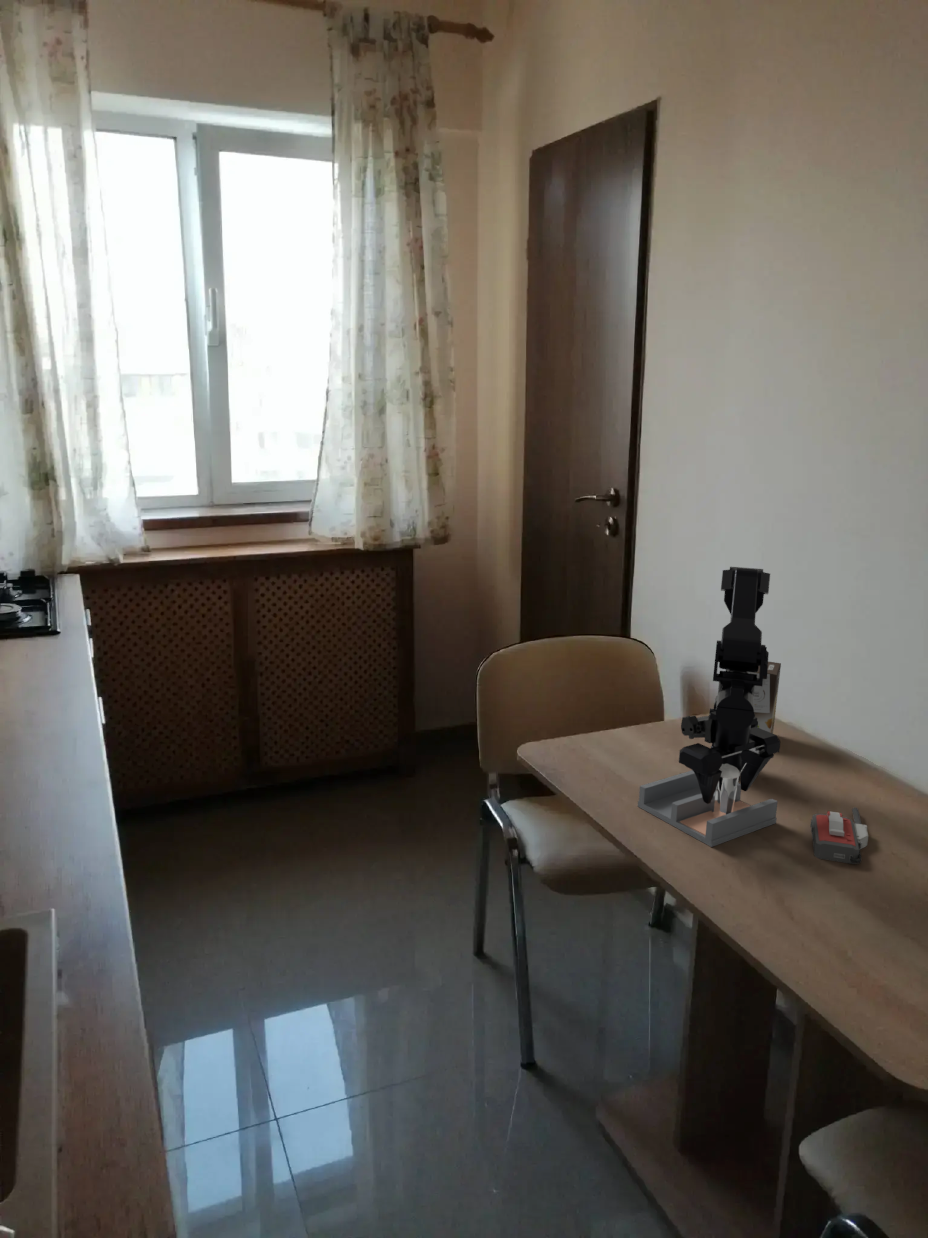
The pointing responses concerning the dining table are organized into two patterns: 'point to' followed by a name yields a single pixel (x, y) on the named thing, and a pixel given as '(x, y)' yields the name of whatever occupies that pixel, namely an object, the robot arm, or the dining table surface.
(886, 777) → the dining table surface
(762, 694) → the coffee box
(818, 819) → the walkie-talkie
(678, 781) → the grey slotted tray
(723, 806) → the milkshake
